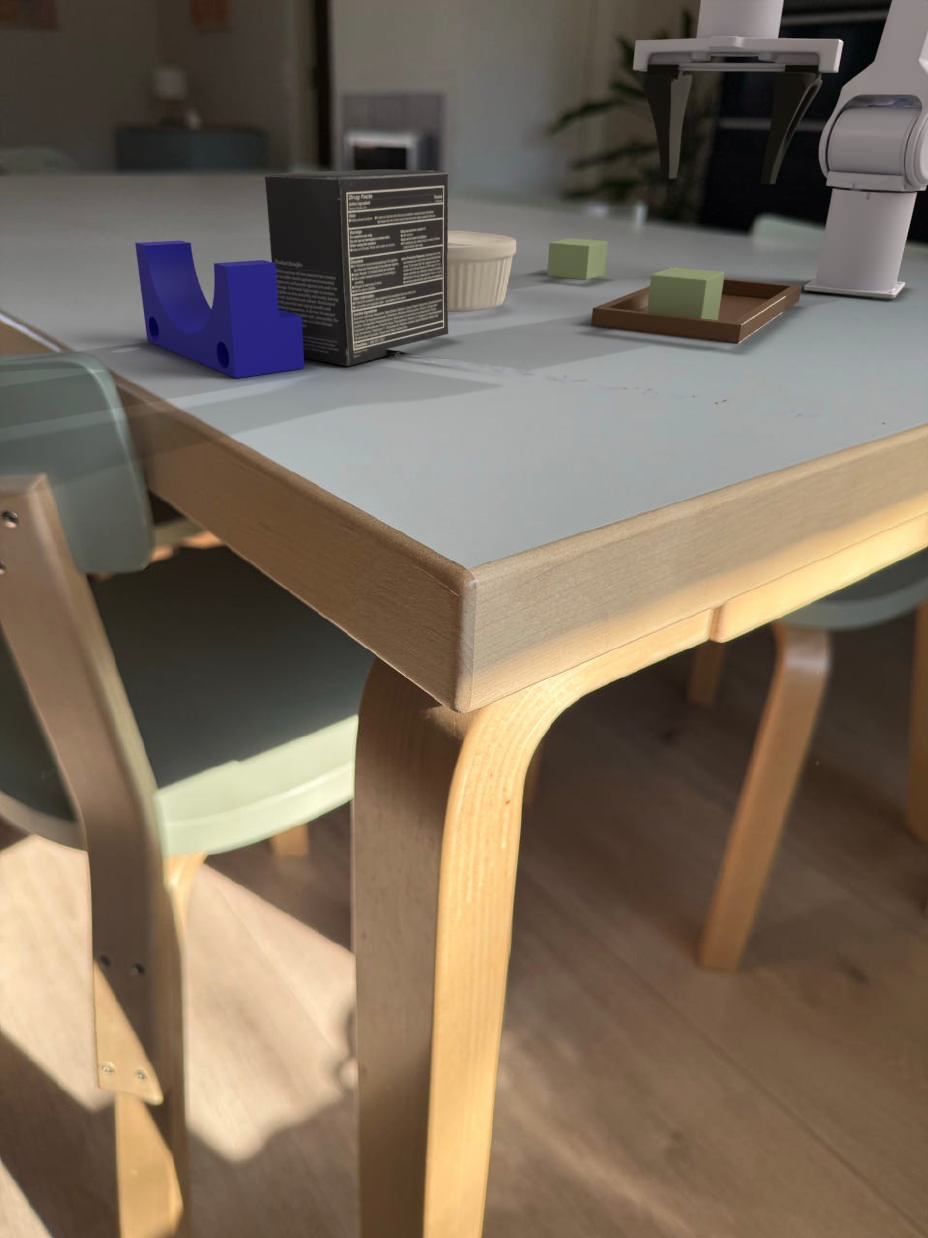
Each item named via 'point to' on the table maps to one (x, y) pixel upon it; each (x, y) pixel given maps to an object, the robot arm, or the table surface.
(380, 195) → the small box
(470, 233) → the ramekin
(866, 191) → the robot arm
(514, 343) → the table surface
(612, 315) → the tray
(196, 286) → the cable clip
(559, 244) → the olive green block
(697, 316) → the green rectangular block
